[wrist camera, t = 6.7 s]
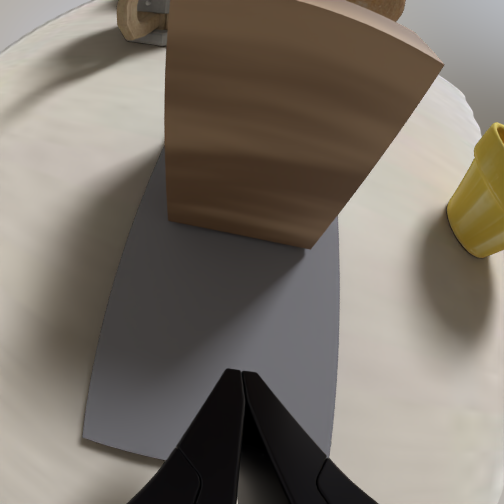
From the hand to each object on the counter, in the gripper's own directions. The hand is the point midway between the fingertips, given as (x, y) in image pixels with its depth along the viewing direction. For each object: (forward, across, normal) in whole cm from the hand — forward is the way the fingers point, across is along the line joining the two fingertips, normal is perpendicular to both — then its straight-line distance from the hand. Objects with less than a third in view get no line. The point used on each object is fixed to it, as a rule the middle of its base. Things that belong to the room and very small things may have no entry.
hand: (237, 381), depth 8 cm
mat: (+11, 0, -1) cm, 11 cm away
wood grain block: (+14, 0, -6) cm, 15 cm away
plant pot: (+16, -22, -6) cm, 27 cm away
